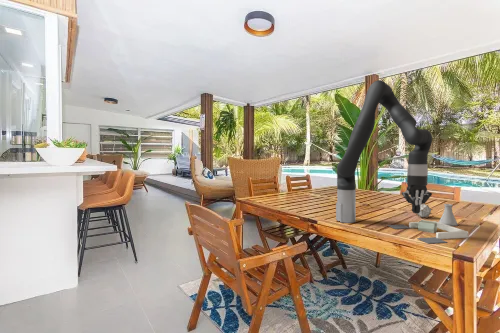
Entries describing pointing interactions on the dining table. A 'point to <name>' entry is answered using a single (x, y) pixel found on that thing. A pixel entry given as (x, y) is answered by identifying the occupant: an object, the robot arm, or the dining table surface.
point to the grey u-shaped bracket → (451, 230)
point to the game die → (424, 211)
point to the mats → (427, 240)
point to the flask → (448, 216)
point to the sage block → (427, 226)
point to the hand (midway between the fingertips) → (416, 213)
